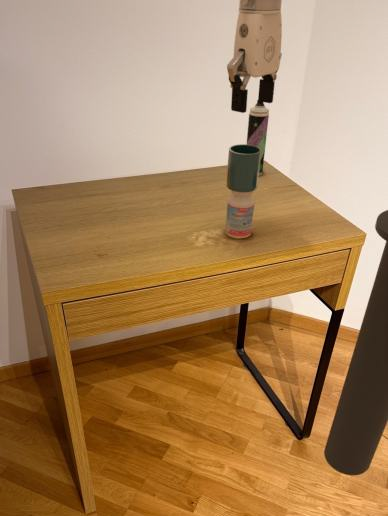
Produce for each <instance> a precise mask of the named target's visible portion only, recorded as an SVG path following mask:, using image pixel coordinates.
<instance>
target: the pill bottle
mask: <svg viewBox="0 0 388 516" xmlns="http://www.w3.org/2000/svg"><path fill="white" fill-rule="evenodd" d="M253 193H254V191H252V192H236V191H232V190H231V194H230V195H229V197H228V198H227V205H226V218H225V230H224V231H225V234H226V235H227V236H228V237H230V238H233V239H240V240H241V239H246V238H248V237H250V236H251V234H252V230H253V229H252V227H253V218H254V210H255V198H254V197H253V196H252V195H253Z"/></svg>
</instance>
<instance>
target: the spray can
mask: <svg viewBox="0 0 388 516" xmlns="http://www.w3.org/2000/svg"><path fill="white" fill-rule="evenodd" d="M269 118H270V109H269V108H267V107H266V105H265V102H260V101H259V100H258V99H257V100H256V103H255V104H254V106H252V107H250V108H249V113H248V121H247V122H248V124H247V133H246V144H247V145H253V146H257V147H259V148H260V149H261V160H260V169H259V177H260V176H262V175H263V171H264V162H265V155H266V154H265V152H266V145H267V144H266V143H267V136H268V135H267V134H268V127H269Z"/></svg>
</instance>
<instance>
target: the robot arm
mask: <svg viewBox="0 0 388 516" xmlns="http://www.w3.org/2000/svg"><path fill="white" fill-rule="evenodd" d="M282 1H283V0H238V16H237V20H236V28H235V35H234V43H233V57H232V59H230V60H229V62H228V63H227V65H226V68H227V74H228V81H229V83H230V84H229V86H230V89H231V102H230V103H231V104H230V105H231V106H230V109H231V111H233V112H236V113H241V114H244V113H246V112H247V107H248V91H249V89H247V86H248V83H249V81H250V79H251V77H252V78H254V79H255V78H256V79H257V78H260V77H261V79H259V85H258V95H257V96H258V97H257V100H259V101H260V102H263V103H265V104H266V103H267V104H272V103H273V102H274V94H275V83H276V80H277V77H278V76H277V73H278V71H279V70H280V64H281V59H282V55H283V54H282V36H283V35H282V34H283V22H282V21H283V20H282Z"/></svg>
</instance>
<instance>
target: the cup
mask: <svg viewBox="0 0 388 516" xmlns="http://www.w3.org/2000/svg"><path fill="white" fill-rule="evenodd" d="M260 160H261V149H260V148H259V147H257V146H253V145H247V143H245V144H243V143H242V144H241V143H239V144H233V145H231V146H229V147H228V155H227V169H226V184H225V185H226V188H227V189H228V190H230V191H231V192H232V191H236V192H252V191H253V192H255V191H256V190H257V189H258V185H259V177H260V176H259V169H260Z"/></svg>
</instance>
